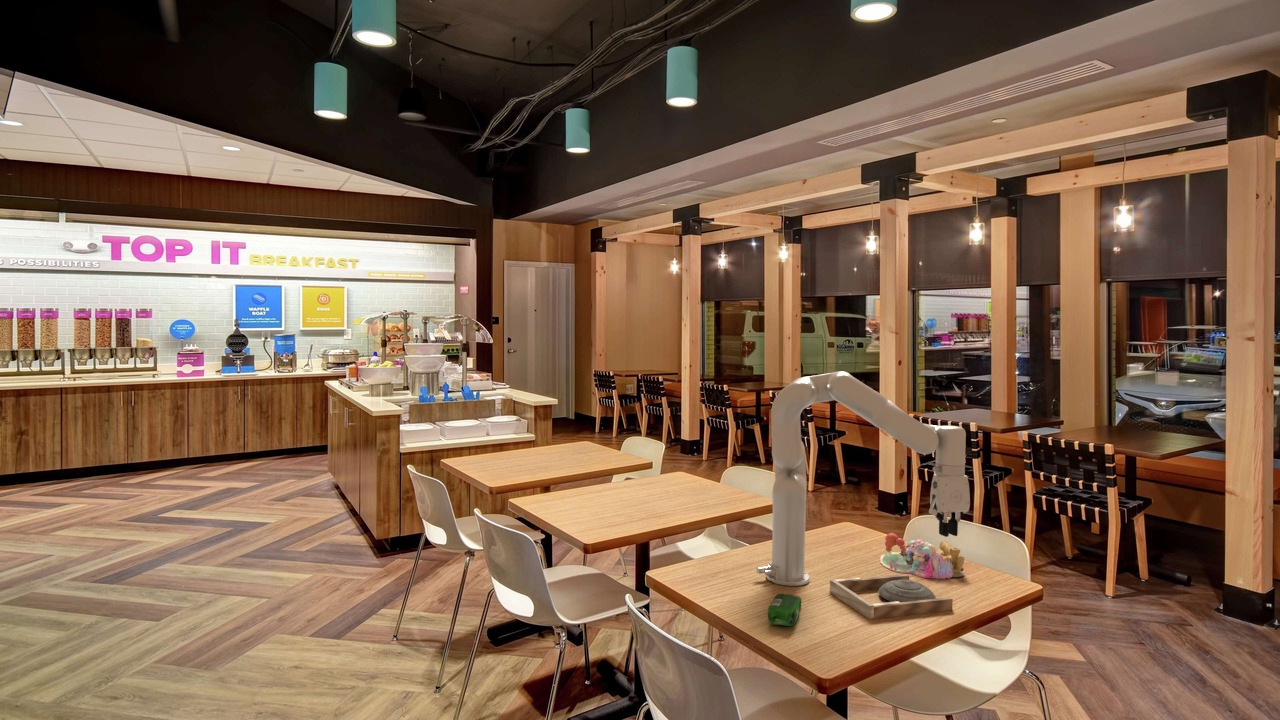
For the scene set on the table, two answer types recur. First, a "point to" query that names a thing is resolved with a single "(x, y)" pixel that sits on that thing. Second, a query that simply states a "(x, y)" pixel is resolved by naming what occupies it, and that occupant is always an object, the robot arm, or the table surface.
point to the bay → (888, 609)
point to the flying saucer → (905, 591)
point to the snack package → (784, 609)
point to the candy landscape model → (922, 558)
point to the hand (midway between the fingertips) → (948, 534)
